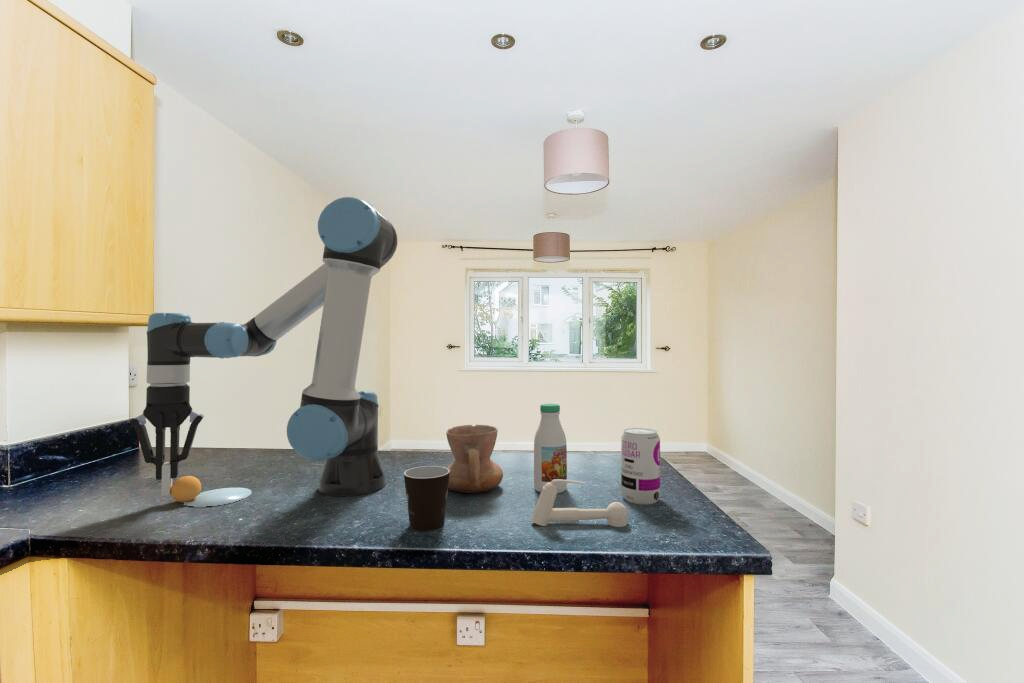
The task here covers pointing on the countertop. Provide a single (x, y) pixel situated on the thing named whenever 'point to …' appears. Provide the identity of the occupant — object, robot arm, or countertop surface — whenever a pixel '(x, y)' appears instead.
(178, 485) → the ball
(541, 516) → the faucet
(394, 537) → the countertop surface
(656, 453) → the supplement can
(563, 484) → the milk bottle
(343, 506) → the countertop surface
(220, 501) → the disc
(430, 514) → the brown cup
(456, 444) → the ceramic jug
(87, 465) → the countertop surface
